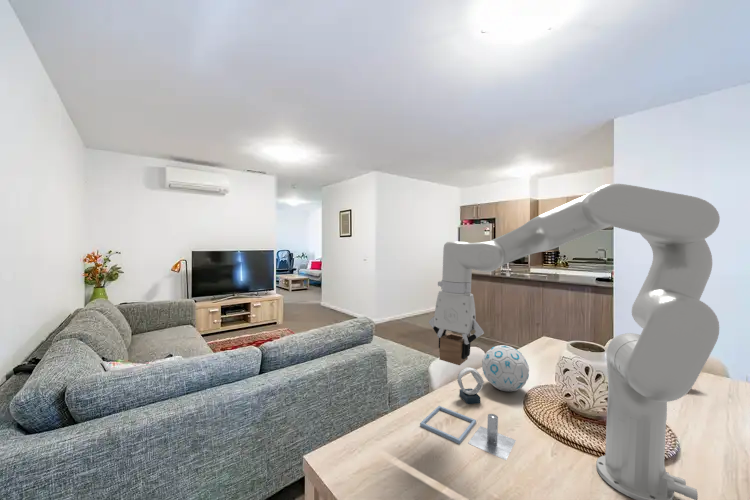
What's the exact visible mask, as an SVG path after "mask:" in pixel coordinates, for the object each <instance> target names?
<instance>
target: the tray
mask: <svg viewBox="0 0 750 500" xmlns="http://www.w3.org/2000/svg"><path fill="white" fill-rule="evenodd" d="M439 411H442V412H444V413H445V414H449V415H452V416H454V417H456V418H458V419H462V420H464V421H467V422H469V425H468V426H467V427H466V428H465V430H464V431H463V432H462V434H461V435H460V436H459V437H457V436H454V435H451V434H449V433H447V432H445V431H443V430H441V429H438V428H435V427H433V426H432V425H429V424H427V423H428V422H429V421H430V420H431V419H432V418H433V417H434V416H435V415H436V414H438V412H439ZM476 424H477V419H474V418H472V417H469V416H467V415H464V414H462V413H459V412H458V411H457V412H456V411H454V410H451V409H449V408H445V407H444V406H441V405H438V406H437V407H436V408H435V409H434V410H433V411H432V412H431V413H429V414H428V415H427V416H426V417H425V418H424V419H423V420H421V422H420V423H419V427H421V428H423V429H426V430H428V431H429V432H432V433H435V434H436V435H439V436H440V437H443V438H445V439H447V440H450V441H451V442H454V443H457V444H458V445H461V444H462V442H463V441H464V440H465V438H466V437H467V435H468V434H469V433H470V431H471V430H472V429H473V428H474V427H475V425H476Z"/></svg>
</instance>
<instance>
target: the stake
mask: <svg viewBox="0 0 750 500" xmlns="http://www.w3.org/2000/svg"><path fill="white" fill-rule="evenodd" d="M486 427H487V428H486ZM486 427H484V426H479V427H478V429H477V430H476V432H475V433H474V434H473V435H472V437H471V439H469V440H468V442H467V444H468V445H471V446H473V447H476V448H477V449H479V450H481V451H484V452H486V453H488V454H491V455H493V456H495V457H498V458H500V459H502V460H505V461H507V460H508V457H509V456H510V453H511V451H512V449H513V448H514V445H515V444H516V441H517V440H516V439H514V438H511V437H509V436H506V435H504V434H501V433H499V432H498V428H499V416H498V415H497V414H495V413H488V414H487V426H486Z"/></svg>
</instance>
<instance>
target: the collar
mask: <svg viewBox="0 0 750 500" xmlns="http://www.w3.org/2000/svg"><path fill="white" fill-rule="evenodd" d="M463 343H464V340H463V337H462V334H458V333H457V334H455V333H454V332H448V333H446V334H445V335H444V336H442V337H440V348H439V350H440V352H439V360H440V361H443V362H447V363H450V364H453V365H456V366H461V365H462V364H464V363H465V362H466V361H467V360H468V357H469V356H468V357H467V358H465V359H462V344H463Z"/></svg>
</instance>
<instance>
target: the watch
mask: <svg viewBox="0 0 750 500" xmlns="http://www.w3.org/2000/svg"><path fill="white" fill-rule="evenodd" d="M469 372H470V373H471V375H472V376H473V379H474V380H475V381H476V383H477V384H476V385H475V387H474V388H465V387H464V384H463V380H462V379H463V376H465V374H467V373H469ZM456 380H457V383H458V384H457V385H458V386H459V388H460V389H459V397H461V399H462V400H463V401H464V402H465V403H466V405H474V404H475V405H476V404H477V405H478V404H481V396H480V395H479V394H478V393H479V392H480V391H481V390H482V388H483V387H484V383H485V381H484V379H483V377H482V375H481V374H480V372H479V371H478V370H477V369H476V368H473V367H471V366H469V367H467V366H466V367H463V369H461V370H460V371H459V373H458V374H457V379H456Z"/></svg>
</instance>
